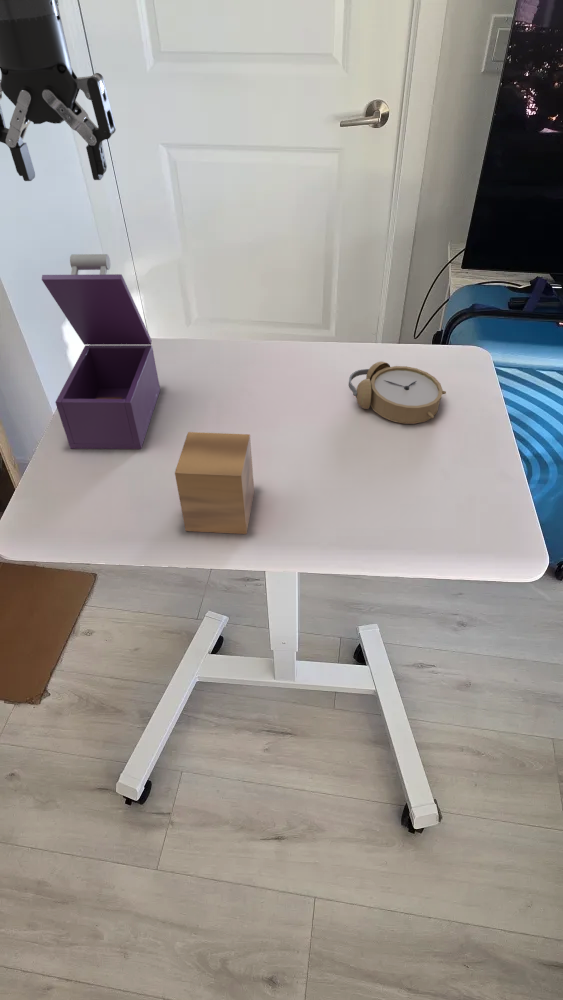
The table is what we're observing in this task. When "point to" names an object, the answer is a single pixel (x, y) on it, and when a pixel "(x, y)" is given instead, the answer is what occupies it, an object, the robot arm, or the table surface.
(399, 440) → the table surface
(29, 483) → the table surface
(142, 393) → the box
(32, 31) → the robot arm
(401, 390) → the alarm clock
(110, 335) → the lid
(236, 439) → the stand
